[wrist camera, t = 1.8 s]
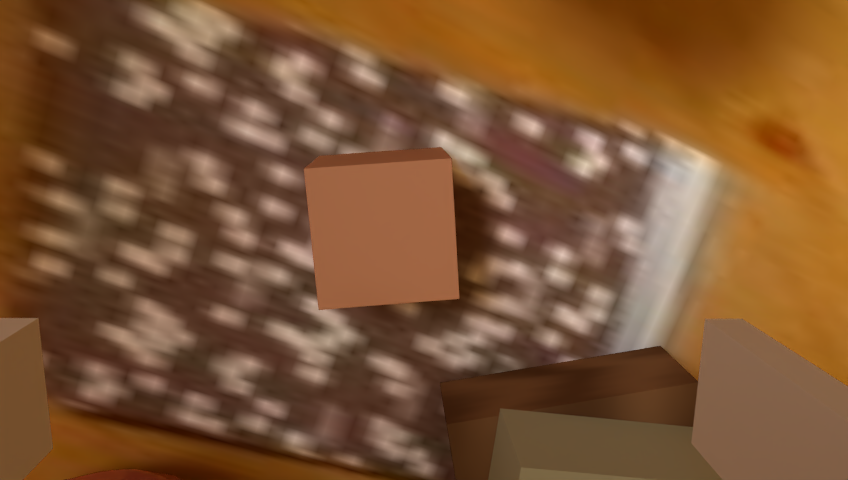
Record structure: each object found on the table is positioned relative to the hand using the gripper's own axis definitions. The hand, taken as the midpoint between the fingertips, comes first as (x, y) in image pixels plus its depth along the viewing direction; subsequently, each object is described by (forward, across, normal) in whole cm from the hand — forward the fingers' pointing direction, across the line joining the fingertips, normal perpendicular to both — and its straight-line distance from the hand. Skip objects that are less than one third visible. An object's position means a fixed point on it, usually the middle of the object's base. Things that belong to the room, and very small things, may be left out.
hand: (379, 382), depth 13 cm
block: (+21, 0, 0) cm, 21 cm away
